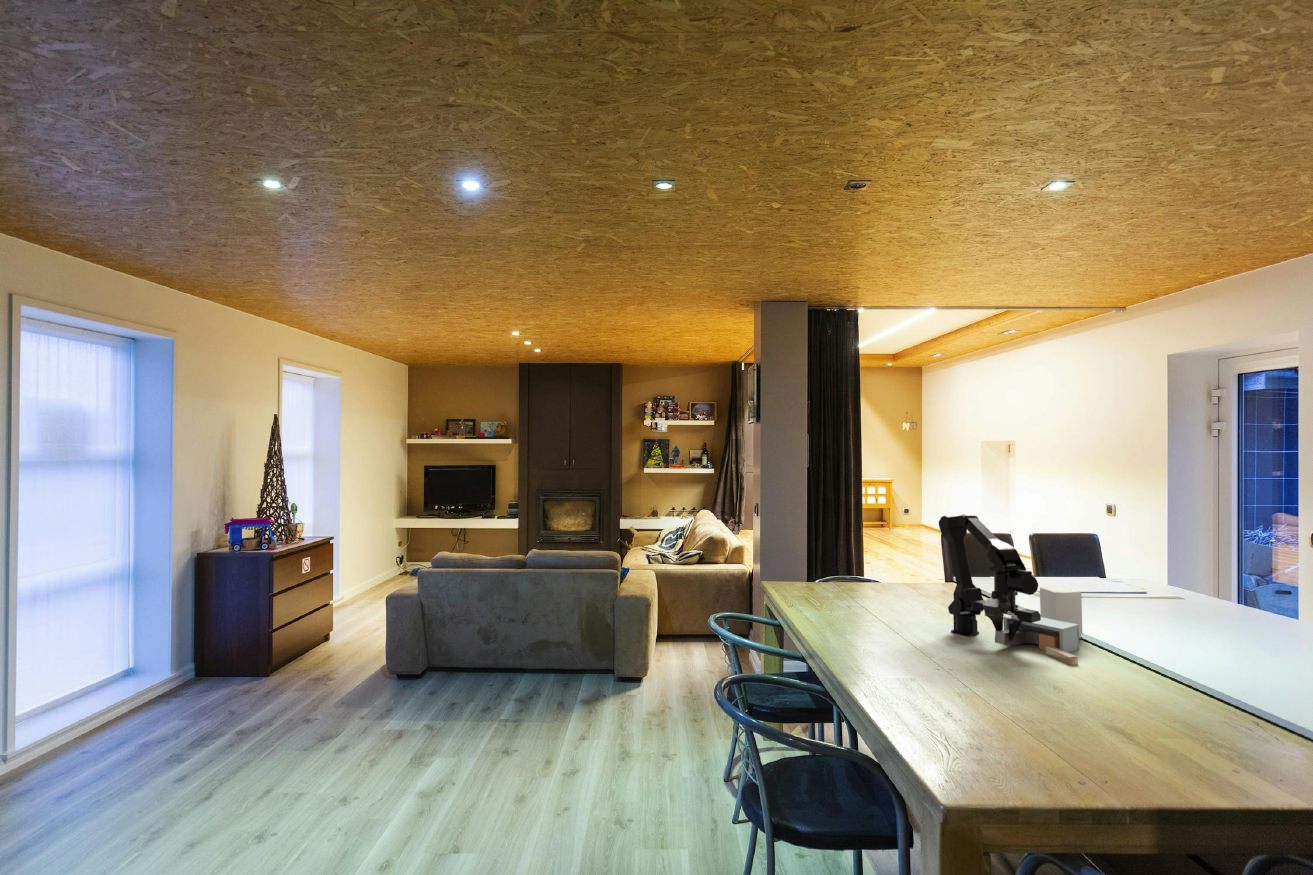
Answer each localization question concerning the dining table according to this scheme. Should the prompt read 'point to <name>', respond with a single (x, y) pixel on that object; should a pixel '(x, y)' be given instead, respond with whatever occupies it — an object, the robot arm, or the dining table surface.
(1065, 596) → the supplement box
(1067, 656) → the rod
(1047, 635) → the block
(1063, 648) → the cubby
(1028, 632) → the grey rectangular bar
